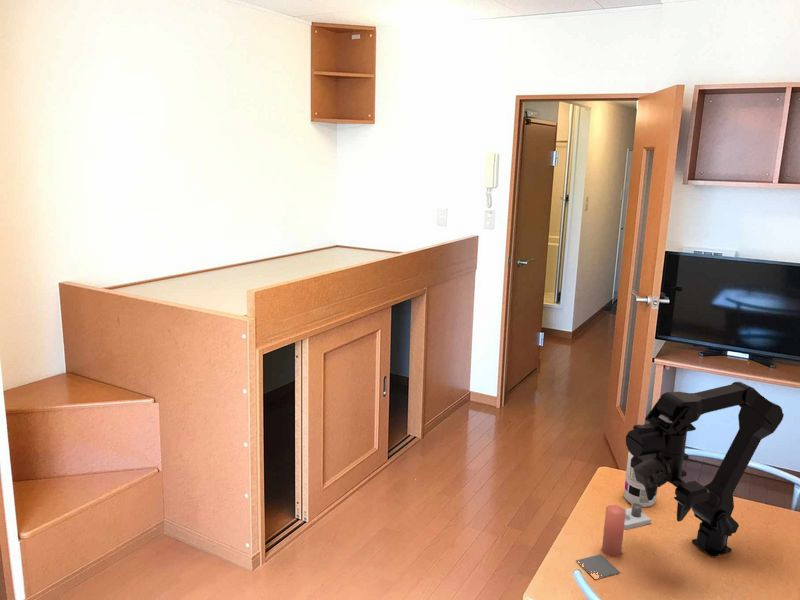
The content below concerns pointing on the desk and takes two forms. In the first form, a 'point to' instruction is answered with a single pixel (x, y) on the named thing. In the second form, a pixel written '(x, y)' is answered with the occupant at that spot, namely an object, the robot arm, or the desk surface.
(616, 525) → the red plug
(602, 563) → the pad
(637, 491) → the supplement can
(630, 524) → the plug tray
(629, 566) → the desk surface
